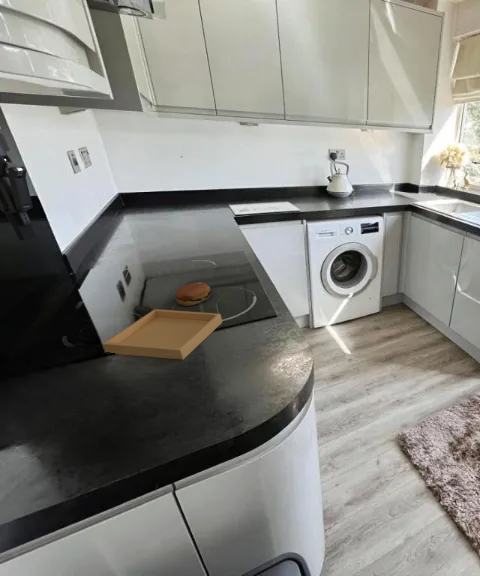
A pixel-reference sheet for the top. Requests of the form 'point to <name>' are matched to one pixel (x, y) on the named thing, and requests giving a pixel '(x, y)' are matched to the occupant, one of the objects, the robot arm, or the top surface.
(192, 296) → the burger
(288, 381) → the top surface
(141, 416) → the top surface
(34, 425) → the top surface
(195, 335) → the tray
